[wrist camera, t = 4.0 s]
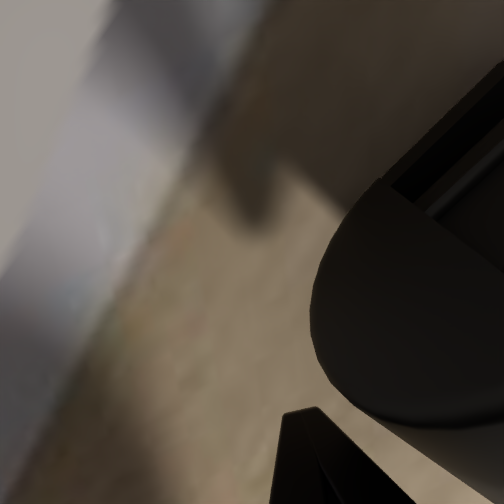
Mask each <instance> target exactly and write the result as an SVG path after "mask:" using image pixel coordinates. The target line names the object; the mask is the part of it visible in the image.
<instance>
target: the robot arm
mask: <svg viewBox="0 0 504 504" xmlns="http://www.w3.org/2000/svg"><path fill="white" fill-rule="evenodd" d="M269 504H416V503H415V502H414V501H413V500H412V499H411V498H410V497H409V496H408V495H407V494H406V493H405V492H404V491H403V490H402V489H401V488H400V487H399V486H398V485H397V484H396V483H395V482H394V481H393V480H392V479H391V478H390V477H389V476H388V475H387V474H386V473H385V472H384V471H383V470H382V469H381V468H380V467H379V466H378V465H377V464H376V463H375V462H374V461H373V460H372V459H371V458H369V457H368V456H367V455H366V454H365V453H364V452H363V451H362V450H361V449H360V448H359V447H358V446H357V445H356V444H355V443H354V442H353V441H352V440H351V439H350V438H349V437H348V436H347V435H346V434H345V433H344V432H343V431H342V430H341V429H340V428H339V427H338V426H337V425H336V424H335V423H334V422H333V421H332V420H331V419H330V418H329V417H328V416H327V415H326V414H325V413H324V412H323V411H322V410H321V409H320V408H318V407H316V406H315V407H310V408H305V409H301V410H296V411H292V412H288V413H284V414H283V416H282V422H281V428H280V435H279V441H278V448H277V455H276V461H275V468H274V474H273V481H272V487H271V494H270V500H269Z"/></svg>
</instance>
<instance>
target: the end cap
mask: <svg viewBox="0 0 504 504" xmlns="http://www.w3.org/2000/svg"><path fill="white" fill-rule="evenodd" d="M310 333H311V338H312V342H313V345H314V349H315V352H316V356H317V359H318V362H319V363H320V365H321V367H322V369H323V370H324V372H325V374H326V376H327V377H328V379H329V381H330V382H331V384H332V385H333V386H334V387H335V388H336V389H337V390H338V391H339V392H340V393H341V394H342V395H343V396H344V397H345V398H346V399H347V400H349V401H350V402H351V403H352V404H353V405H354V406H355V407H356V408H358V409H359V410H361V411H362V412H364V413H365V414H367V415H368V416H369V417H371V418H372V419H374V420H375V421H377V422H378V423H379V424H381V425H382V426H384V427H385V428H387V429H388V430H389V431H391V432H392V433H394V434H395V435H397V436H398V437H399V438H401V439H402V440H404V441H405V442H407V443H408V444H409V445H411V446H412V447H414V448H415V449H417V450H418V451H419V452H421V453H422V454H424V455H425V456H427V457H428V458H430V459H431V460H432V461H434V462H435V463H437V464H438V465H440V466H441V467H442V468H444V469H445V470H447V471H448V472H450V473H451V474H452V475H454V476H455V477H457V478H458V479H460V480H461V481H462V482H464V483H465V484H467V485H468V486H470V487H471V488H472V489H474V490H475V491H477V492H478V493H480V494H481V495H482V496H484V497H485V498H487V499H488V500H490V501H491V502H493V503H494V504H504V61H502V62H501V63H499V64H497V65H496V66H495V67H494V68H493V69H492V70H491V71H490V72H489V73H488V74H487V75H486V76H485V77H484V78H483V79H482V80H481V81H480V82H479V83H478V84H477V85H476V86H475V87H474V88H473V89H472V90H471V91H470V92H469V93H468V94H467V95H466V96H465V97H464V98H463V99H462V100H460V101H459V102H458V103H457V104H456V105H455V106H454V107H453V108H452V109H451V110H450V111H449V112H448V113H447V114H446V115H445V116H444V117H443V118H442V119H441V120H440V121H439V122H438V123H437V124H436V125H435V126H434V127H433V128H432V129H431V130H430V131H429V132H428V133H427V134H426V135H425V136H424V137H423V138H422V139H421V140H419V141H418V142H417V143H416V144H415V145H414V146H413V147H412V148H411V149H410V150H409V151H408V152H407V153H406V154H405V155H404V156H403V157H402V158H401V159H400V160H399V161H398V162H397V163H396V164H395V165H394V166H393V167H392V168H391V169H390V170H389V171H388V172H387V173H386V174H385V175H384V176H383V177H382V178H381V179H380V178H378V179H377V180H376V181H375V182H374V183H373V184H372V185H371V187H370V188H369V189H368V190H367V191H366V192H365V193H364V194H363V195H362V196H361V197H360V198H359V200H358V201H357V202H356V204H355V205H354V206H353V208H352V209H351V210H350V211H349V213H348V214H347V215H346V217H345V218H344V219H343V221H342V223H341V224H340V226H339V227H338V229H337V231H336V232H335V234H334V236H333V237H332V239H331V241H330V243H329V245H328V247H327V249H326V251H325V253H324V256H323V258H322V260H321V262H320V265H319V268H318V271H317V275H316V278H315V281H314V284H313V290H312V297H311V304H310Z"/></svg>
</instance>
